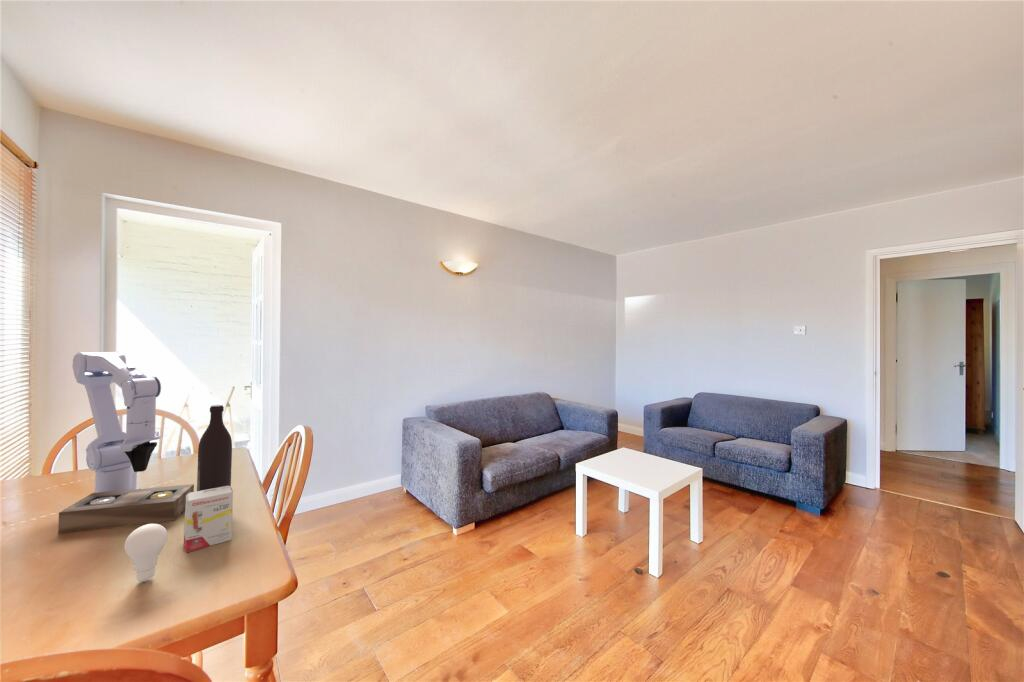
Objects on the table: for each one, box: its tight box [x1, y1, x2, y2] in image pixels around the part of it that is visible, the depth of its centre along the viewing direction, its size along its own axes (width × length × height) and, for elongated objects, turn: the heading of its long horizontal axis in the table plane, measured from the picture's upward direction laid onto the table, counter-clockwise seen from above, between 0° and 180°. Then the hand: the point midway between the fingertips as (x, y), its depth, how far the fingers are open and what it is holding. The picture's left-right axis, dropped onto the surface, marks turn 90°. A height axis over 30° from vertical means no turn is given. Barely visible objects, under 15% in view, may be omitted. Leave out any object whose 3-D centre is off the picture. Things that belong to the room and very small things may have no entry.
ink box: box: [183, 485, 234, 553], centre depth 88 cm, size 9×5×12 cm, turn 133°
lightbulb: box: [124, 523, 169, 583], centre depth 74 cm, size 6×6×11 cm
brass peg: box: [150, 491, 173, 499], centre depth 102 cm, size 4×4×5 cm
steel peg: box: [90, 497, 115, 505], centre depth 97 cm, size 4×4×5 cm
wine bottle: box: [196, 404, 233, 491], centre depth 99 cm, size 7×7×30 cm
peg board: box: [57, 483, 195, 534], centre depth 100 cm, size 12×22×5 cm, turn 111°
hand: (140, 470), depth 104 cm, fingers closed
